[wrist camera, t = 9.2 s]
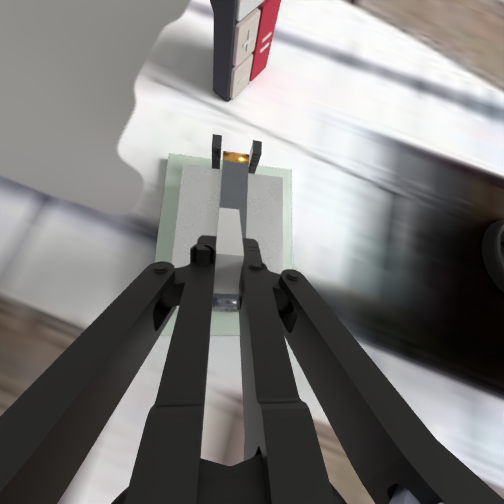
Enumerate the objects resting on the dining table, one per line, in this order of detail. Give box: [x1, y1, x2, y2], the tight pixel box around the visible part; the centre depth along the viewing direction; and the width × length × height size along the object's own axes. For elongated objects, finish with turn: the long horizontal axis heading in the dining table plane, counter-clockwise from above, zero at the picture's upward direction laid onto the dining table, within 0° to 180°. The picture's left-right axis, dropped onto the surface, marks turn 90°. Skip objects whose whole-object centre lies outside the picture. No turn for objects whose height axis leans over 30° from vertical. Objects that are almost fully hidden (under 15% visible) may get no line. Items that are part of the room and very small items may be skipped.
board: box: [154, 153, 293, 336], centre depth 30 cm, size 24×18×2 cm
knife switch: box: [172, 134, 283, 312], centre depth 26 cm, size 19×12×8 cm, turn 178°
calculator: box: [210, 0, 281, 101], centre depth 31 cm, size 11×4×15 cm, turn 145°
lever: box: [213, 151, 249, 308], centre depth 24 cm, size 18×3×2 cm, turn 178°
